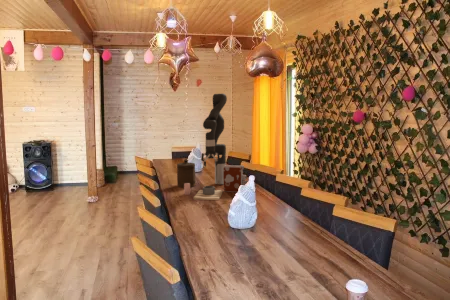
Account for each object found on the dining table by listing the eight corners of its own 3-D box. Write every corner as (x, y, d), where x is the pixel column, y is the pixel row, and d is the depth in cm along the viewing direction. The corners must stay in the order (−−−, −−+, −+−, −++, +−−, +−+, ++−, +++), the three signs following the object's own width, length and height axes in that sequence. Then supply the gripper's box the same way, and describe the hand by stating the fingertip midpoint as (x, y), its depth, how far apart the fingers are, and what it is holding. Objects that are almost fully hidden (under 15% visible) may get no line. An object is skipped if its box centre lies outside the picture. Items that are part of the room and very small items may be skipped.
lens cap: (185, 193, 305) (184, 183, 304) (190, 193, 305) (190, 183, 304) (183, 194, 301) (183, 184, 300) (189, 194, 300) (189, 184, 300)
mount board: (199, 191, 310) (199, 189, 310) (222, 192, 308) (222, 190, 308) (193, 199, 286) (193, 197, 286) (218, 200, 284) (218, 197, 284)
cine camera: (248, 193, 304) (248, 166, 302) (222, 192, 308) (222, 166, 306) (249, 190, 313) (249, 164, 311) (225, 189, 317) (225, 164, 314)
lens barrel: (204, 192, 301) (203, 185, 301) (215, 192, 300) (215, 185, 300) (202, 195, 293) (202, 188, 292) (213, 195, 292) (213, 188, 292)
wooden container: (193, 183, 342) (192, 157, 340) (197, 186, 328) (196, 160, 325) (176, 184, 338) (175, 158, 336) (179, 188, 324) (178, 161, 321)
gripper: (218, 145, 322) (218, 165, 323) (200, 145, 319) (200, 166, 320) (220, 145, 315) (220, 166, 316) (202, 146, 312) (202, 166, 313)
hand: (210, 166), depth 318 cm, fingers open, 8 cm apart
